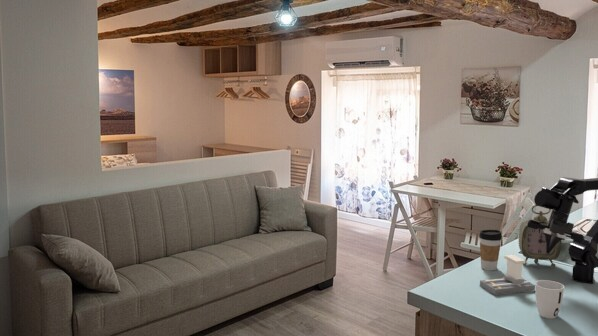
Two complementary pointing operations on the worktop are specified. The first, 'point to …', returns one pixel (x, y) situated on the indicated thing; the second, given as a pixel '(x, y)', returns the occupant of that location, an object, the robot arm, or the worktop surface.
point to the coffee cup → (489, 248)
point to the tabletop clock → (537, 241)
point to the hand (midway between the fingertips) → (547, 253)
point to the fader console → (505, 286)
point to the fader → (514, 269)
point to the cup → (548, 297)
